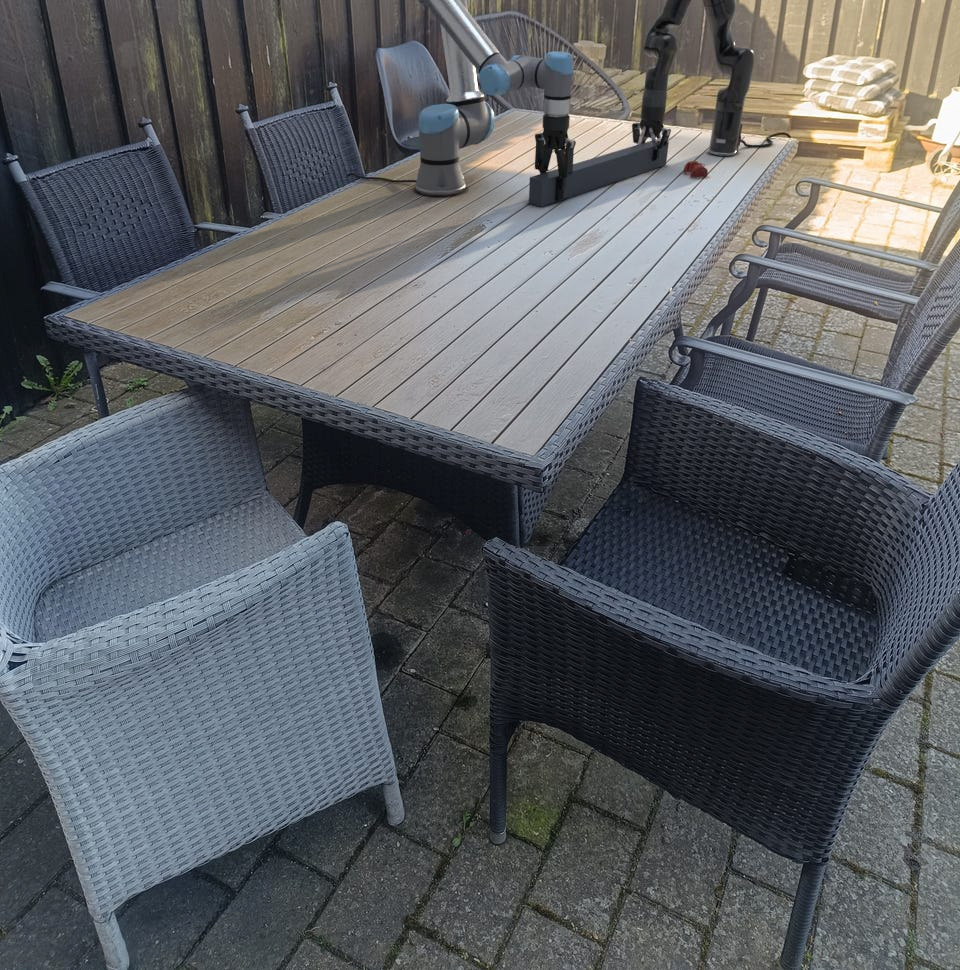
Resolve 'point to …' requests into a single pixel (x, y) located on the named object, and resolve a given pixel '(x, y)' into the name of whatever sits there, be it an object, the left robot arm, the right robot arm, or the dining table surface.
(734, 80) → the right robot arm
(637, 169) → the beam
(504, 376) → the dining table surface
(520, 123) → the dining table surface
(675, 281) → the dining table surface
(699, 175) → the red lumpy piece
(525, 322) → the dining table surface
